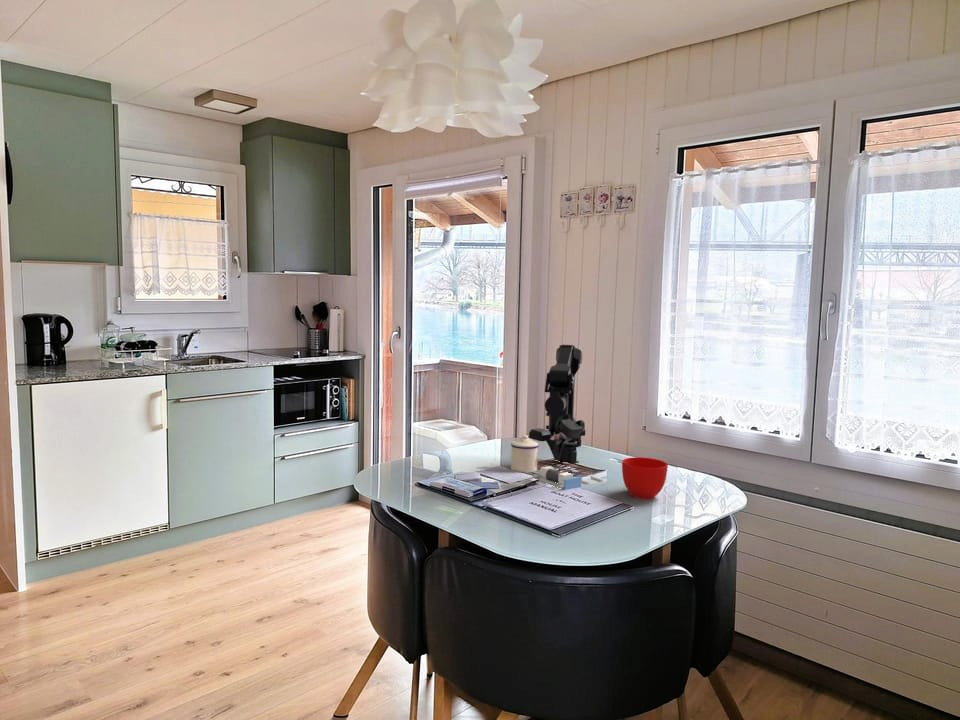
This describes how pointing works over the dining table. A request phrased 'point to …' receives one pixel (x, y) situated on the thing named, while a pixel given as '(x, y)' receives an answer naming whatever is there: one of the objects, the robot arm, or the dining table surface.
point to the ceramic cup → (644, 476)
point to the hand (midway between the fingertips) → (556, 459)
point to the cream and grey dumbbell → (554, 475)
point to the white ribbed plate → (569, 482)
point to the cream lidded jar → (524, 455)
